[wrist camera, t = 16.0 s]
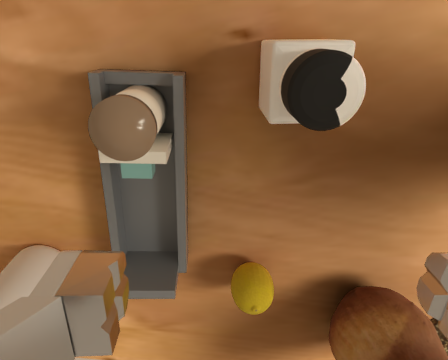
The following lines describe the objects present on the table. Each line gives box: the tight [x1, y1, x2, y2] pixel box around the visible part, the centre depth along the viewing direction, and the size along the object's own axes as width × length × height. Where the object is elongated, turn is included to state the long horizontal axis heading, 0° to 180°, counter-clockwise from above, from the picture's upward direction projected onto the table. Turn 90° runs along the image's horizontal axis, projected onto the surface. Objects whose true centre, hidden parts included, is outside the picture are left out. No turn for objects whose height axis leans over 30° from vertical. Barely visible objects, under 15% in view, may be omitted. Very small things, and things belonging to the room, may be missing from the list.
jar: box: [88, 85, 167, 161], centre depth 30 cm, size 5×5×9 cm
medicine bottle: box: [259, 39, 366, 131], centre depth 29 cm, size 7×7×12 cm
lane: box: [88, 69, 188, 299], centre depth 35 cm, size 9×24×8 cm, turn 178°
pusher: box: [98, 133, 173, 179], centre depth 33 cm, size 6×3×6 cm, turn 88°
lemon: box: [231, 262, 274, 315], centre depth 42 cm, size 6×6×8 cm
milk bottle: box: [0, 245, 61, 309], centre depth 35 cm, size 8×8×20 cm
